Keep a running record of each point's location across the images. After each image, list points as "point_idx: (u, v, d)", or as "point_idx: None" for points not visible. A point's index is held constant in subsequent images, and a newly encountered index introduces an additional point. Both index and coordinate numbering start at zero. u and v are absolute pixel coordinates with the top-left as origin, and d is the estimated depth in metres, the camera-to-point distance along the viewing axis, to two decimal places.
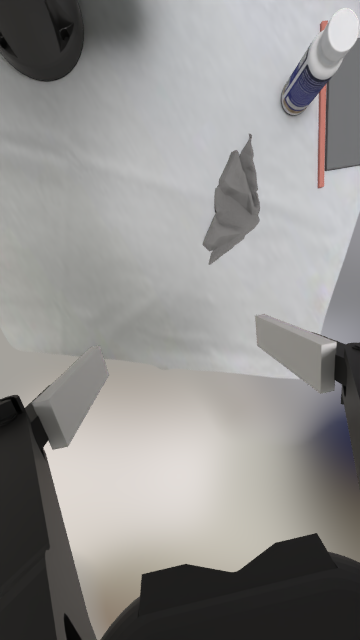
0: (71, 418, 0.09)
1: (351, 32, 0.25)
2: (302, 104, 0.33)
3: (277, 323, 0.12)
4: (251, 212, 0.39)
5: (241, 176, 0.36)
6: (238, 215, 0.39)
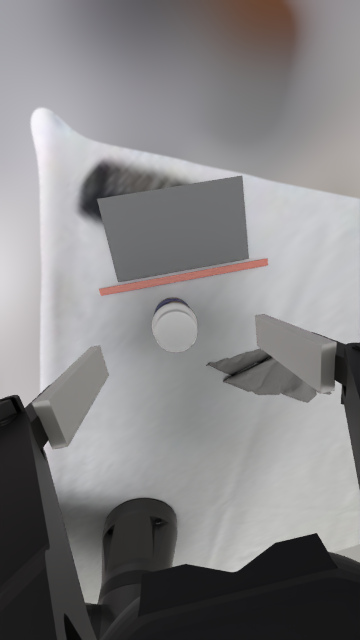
0: (71, 418, 0.09)
1: (177, 322, 0.19)
2: None
3: (277, 323, 0.12)
4: None
5: (252, 374, 0.31)
6: (285, 367, 0.33)
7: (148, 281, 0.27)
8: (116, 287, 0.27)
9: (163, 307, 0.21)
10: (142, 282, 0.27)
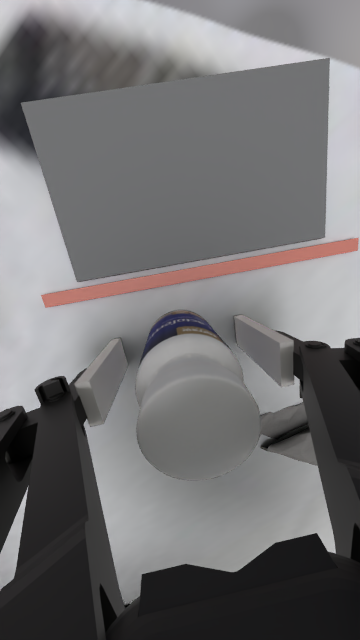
0: (104, 400, 0.10)
1: (206, 405, 0.06)
2: None
3: (250, 323, 0.13)
4: None
5: None
6: None
7: (135, 280, 0.14)
8: (74, 292, 0.14)
9: (163, 346, 0.08)
10: (124, 282, 0.14)
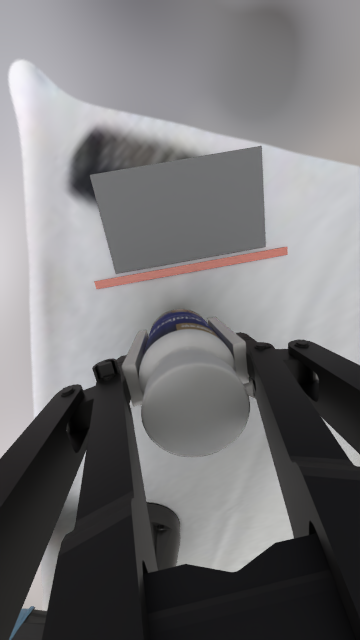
0: None
1: (201, 389, 0.07)
2: None
3: (218, 325, 0.14)
4: None
5: None
6: None
7: (150, 273, 0.24)
8: (113, 279, 0.24)
9: (164, 340, 0.09)
10: (143, 274, 0.24)
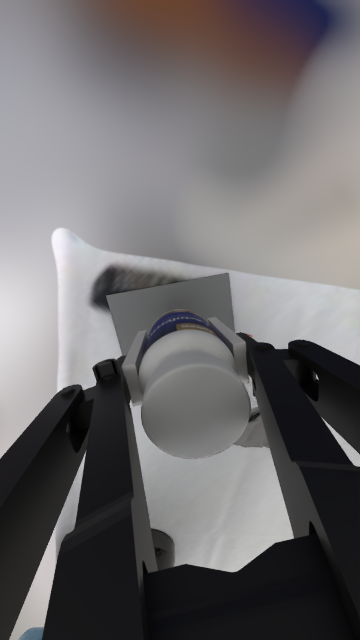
0: None
1: (202, 390, 0.07)
2: None
3: (218, 325, 0.14)
4: None
5: None
6: None
7: None
8: None
9: (164, 341, 0.09)
10: None
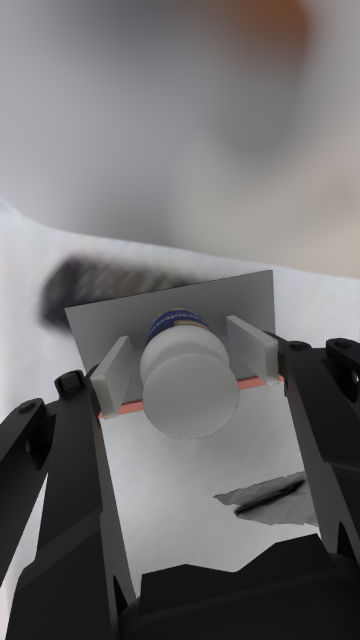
0: (117, 394, 0.11)
1: (195, 377, 0.08)
2: None
3: (240, 324, 0.13)
4: None
5: (272, 512, 0.24)
6: None
7: (139, 403, 0.20)
8: None
9: (163, 335, 0.10)
10: (131, 405, 0.20)
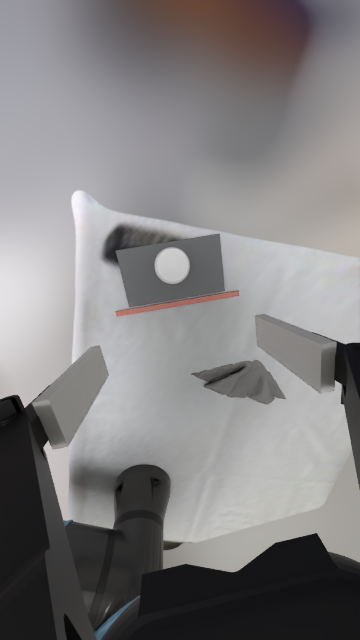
0: (71, 418, 0.09)
1: (173, 256, 0.25)
2: None
3: (277, 323, 0.12)
4: (249, 367, 0.43)
5: (224, 383, 0.42)
6: (250, 378, 0.44)
7: (151, 306, 0.37)
8: (128, 310, 0.37)
9: None
10: (146, 307, 0.37)
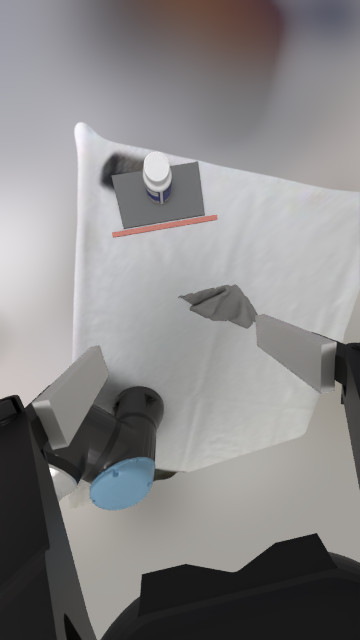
0: (71, 418, 0.09)
1: (157, 158, 0.32)
2: None
3: (277, 323, 0.12)
4: (229, 291, 0.49)
5: (207, 304, 0.48)
6: (230, 302, 0.50)
7: (142, 228, 0.44)
8: (122, 231, 0.43)
9: None
10: (138, 229, 0.44)
